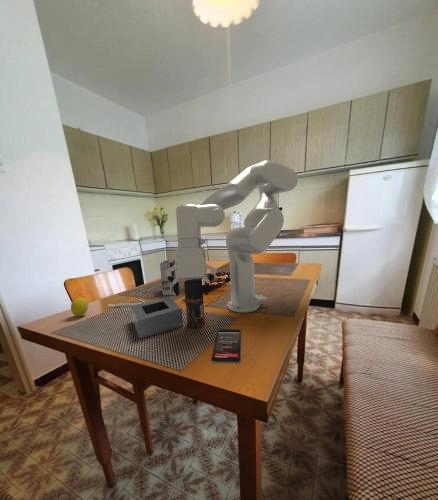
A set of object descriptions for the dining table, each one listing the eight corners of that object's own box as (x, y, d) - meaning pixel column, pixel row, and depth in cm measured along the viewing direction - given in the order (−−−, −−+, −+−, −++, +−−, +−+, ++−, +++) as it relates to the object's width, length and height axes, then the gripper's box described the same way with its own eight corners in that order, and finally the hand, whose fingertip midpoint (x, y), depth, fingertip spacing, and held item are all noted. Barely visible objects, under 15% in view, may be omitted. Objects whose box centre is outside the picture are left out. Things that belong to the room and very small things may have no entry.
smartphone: (210, 361, 50) (217, 329, 65) (211, 363, 50) (217, 331, 65) (240, 361, 49) (240, 329, 64) (240, 364, 49) (240, 331, 64)
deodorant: (202, 328, 66) (198, 284, 64) (184, 327, 67) (181, 284, 65) (206, 320, 72) (204, 279, 70) (190, 319, 73) (187, 278, 71)
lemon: (69, 318, 79) (66, 299, 78) (82, 312, 84) (80, 294, 83) (79, 320, 77) (75, 300, 76) (92, 314, 82) (89, 295, 81)
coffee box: (175, 295, 99) (172, 262, 97) (162, 295, 100) (159, 263, 97) (179, 289, 108) (176, 259, 106) (167, 289, 109) (164, 260, 106)
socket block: (170, 311, 81) (168, 296, 80) (183, 325, 69) (181, 308, 68) (132, 321, 74) (130, 306, 73) (139, 339, 62) (137, 320, 61)
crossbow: (149, 301, 96) (149, 297, 95) (140, 313, 83) (140, 309, 83) (115, 302, 95) (114, 298, 95) (100, 314, 82) (100, 309, 82)
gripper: (216, 241, 70) (217, 290, 72) (165, 243, 69) (168, 291, 71) (216, 243, 62) (218, 297, 64) (159, 245, 62) (163, 299, 64)
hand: (192, 294), depth 68 cm, fingers open, 9 cm apart
